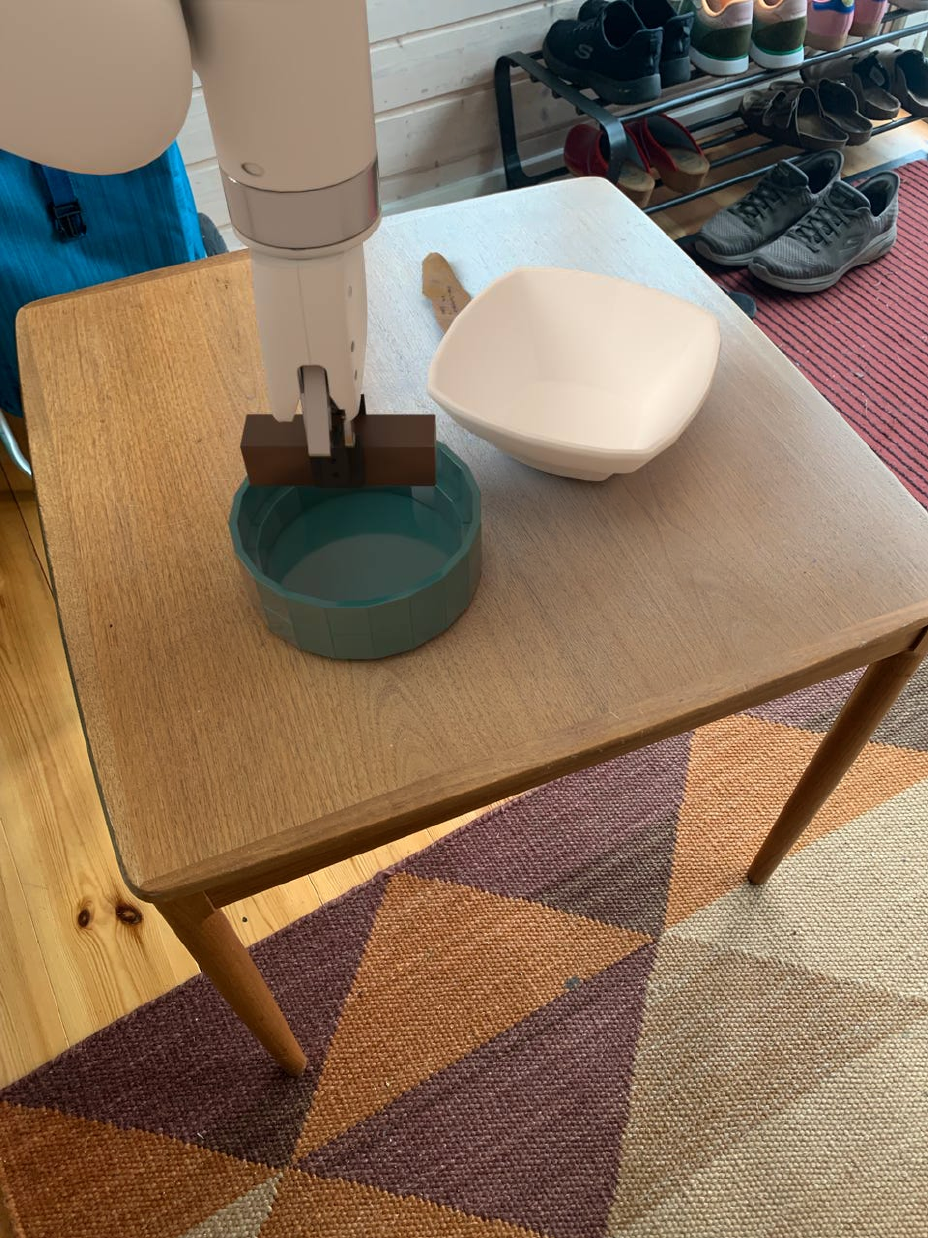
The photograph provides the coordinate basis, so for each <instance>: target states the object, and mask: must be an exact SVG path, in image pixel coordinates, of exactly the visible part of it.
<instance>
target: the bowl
mask: <svg viewBox="0 0 928 1238" xmlns="http://www.w3.org/2000/svg"><path fill="white" fill-rule="evenodd" d="M722 345H723V341H722V335H721V329H720V324H719V320H718V318H717V316H716V315H715V314H714V313H711V312H710V311H708V310H706V309H704V308H702V307H701V306H698V305H697V304H695V303H694V302H692V301H689V300H687V299H686V298H685V299H684V298H682V297H680V296H677V295H674V294H671V293H669V292H666V291H663V290H660V289H658V288H654V287H650V286H647V285H643V284H641V283H637V282H634V281H631V280H627V279H624V278H620V277H614V276H609V275H605V274H600V273H594V272H590V271H586V270H585V271H584V270H579V269H571V268H565V267H564V268H563V267H557V266H535V265H533V266H532V265H529V266H528V265H527V266H526V265H521V266H516V267H514V268H512V269H510V270H509V271H507V272H505V273H503V274H502V275H500V276H498V277H497V278H495V279H493V280H492V281H491V282H490V283H489V284H488V285H487V286H485V287H484V288H483V289H482V290H481V291H480V292H479V293H477V294H476V295H475V296H474V297H473V298H471V302H470V303H469V304H468V305H467V306H466V307H465V308H464V309H463V310H462V311H461V313H460V314H459V315H458V316H457V317H456V318H455V319H454V321H453V323H452V324H451V326H450V327H449V329H448V331H447V332H446V334H445V333H444V335H443V337H442V339H441V340H440V342H439V344H438V347H437V349H436V352H435V353H434V355H433V357H432V359H431V362H430V364H429V365H428V366H429V367H428V376H427V384H426V389H427V395H428V396H429V397H430V399H432V400H433V401H434V403H436V405H438V406H439V407H440V408H441V409H442V410H443V411H444V413H445V414H447V415H448V416H449V417H450V418H451V419H452V421H454V422H455V423H457V425H459V426H460V427H462V428H463V429H465V430H466V431H467V432H469V433H470V434H472V435H474V436H476V437H478V438H480V439H482V440H484V441H485V442H488V443H490V444H492V445H493V446H494V447H495V448H496V449H497V450H498V451H499V452H501V453H502V454H504V455H505V456H508V457H510V458H511V459H514V460H515V461H518V462H520V463H521V464H524V465H525V466H529V467H531V468H532V469H536V470H538V471H541V472H544V473H548V474H551V475H554V476H555V475H556V476H560V477H565V478H572V479H578V480H584V481H590V482H602V481H605V480H607V479H608V478H609V477H611V476H612V475H613V474H631V473H634V472H635V471H637V470H639V469H641V468H642V467H643V466H644V465H646V464H647V463H649V462H650V461H651V460H652V459H654V458H655V457H656V456H658V455H659V454H660V453H662V452H663V451H665V450H666V449H667V448H669V447H670V446H671V445H673V444H674V443H676V442H677V440H678V439H679V438H680V436H681V435H682V434H683V432H684V431H685V430H686V429H687V428H688V427H689V426H690V424H691V422H692V421H693V420H694V419H695V417H696V416H697V415H698V413H699V411H700V409H702V406H703V405H704V403H705V401H706V400H707V398H708V396H709V395H710V392H711V389H712V387H713V383H714V380H715V378H716V374H717V370H718V367H719V360H720V357H721V350H722Z"/></svg>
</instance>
